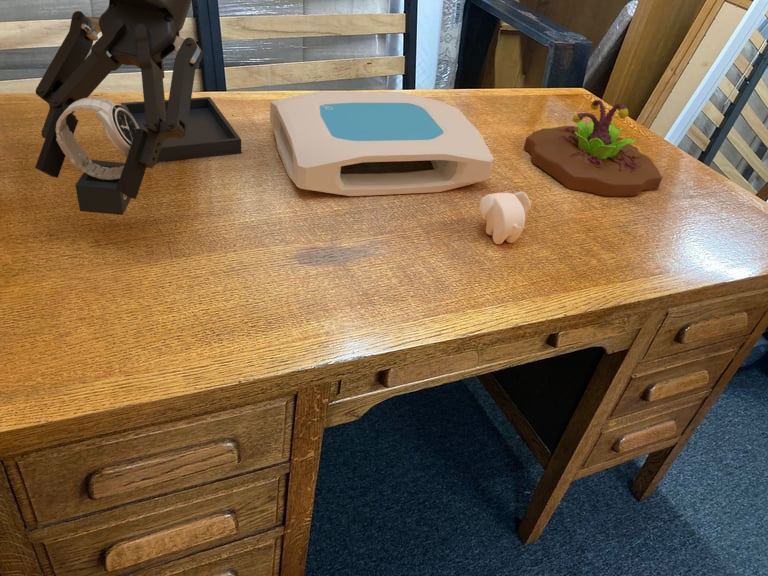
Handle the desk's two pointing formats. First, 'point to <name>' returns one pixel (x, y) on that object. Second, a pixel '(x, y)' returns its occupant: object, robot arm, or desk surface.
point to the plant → (593, 156)
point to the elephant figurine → (505, 215)
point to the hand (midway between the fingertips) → (86, 183)
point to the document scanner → (376, 142)
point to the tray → (195, 132)
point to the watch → (99, 175)
